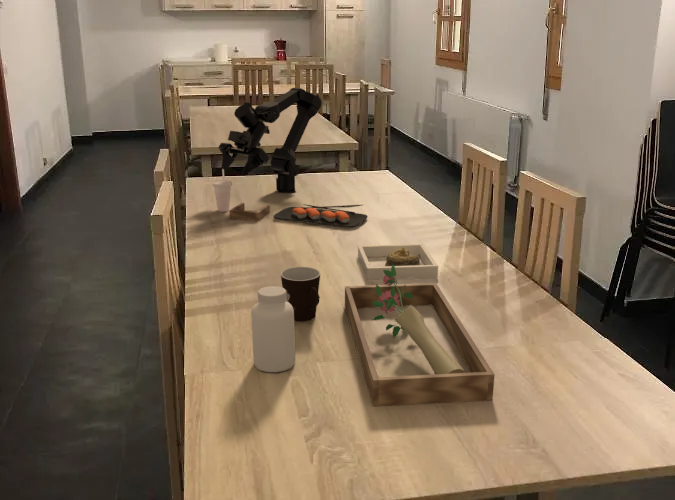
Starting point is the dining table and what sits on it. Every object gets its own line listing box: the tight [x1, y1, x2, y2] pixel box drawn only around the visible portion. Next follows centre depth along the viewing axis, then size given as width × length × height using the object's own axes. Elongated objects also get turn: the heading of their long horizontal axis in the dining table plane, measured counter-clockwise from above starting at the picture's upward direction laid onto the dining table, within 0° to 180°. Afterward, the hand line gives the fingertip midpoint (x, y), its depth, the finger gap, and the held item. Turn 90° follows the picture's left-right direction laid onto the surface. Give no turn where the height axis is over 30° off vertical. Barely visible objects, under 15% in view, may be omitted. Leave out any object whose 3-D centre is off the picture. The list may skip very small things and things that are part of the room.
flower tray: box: [344, 282, 495, 407], centre depth 142 cm, size 21×43×5 cm, turn 6°
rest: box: [228, 202, 271, 222], centre depth 232 cm, size 10×10×3 cm
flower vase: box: [371, 265, 466, 374], centre depth 141 cm, size 12×12×35 cm
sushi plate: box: [273, 203, 368, 228], centre depth 235 cm, size 29×30×4 cm
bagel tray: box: [357, 243, 439, 281], centre depth 187 cm, size 18×18×3 cm
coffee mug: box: [280, 266, 321, 323], centre depth 154 cm, size 12×9×10 cm
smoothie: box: [212, 169, 233, 212], centre depth 237 cm, size 6×6×14 cm
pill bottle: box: [250, 285, 296, 373], centre depth 134 cm, size 8×8×15 cm
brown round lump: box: [384, 248, 423, 266], centre depth 187 cm, size 10×10×5 cm
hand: (232, 173), depth 240 cm, fingers open, 9 cm apart
